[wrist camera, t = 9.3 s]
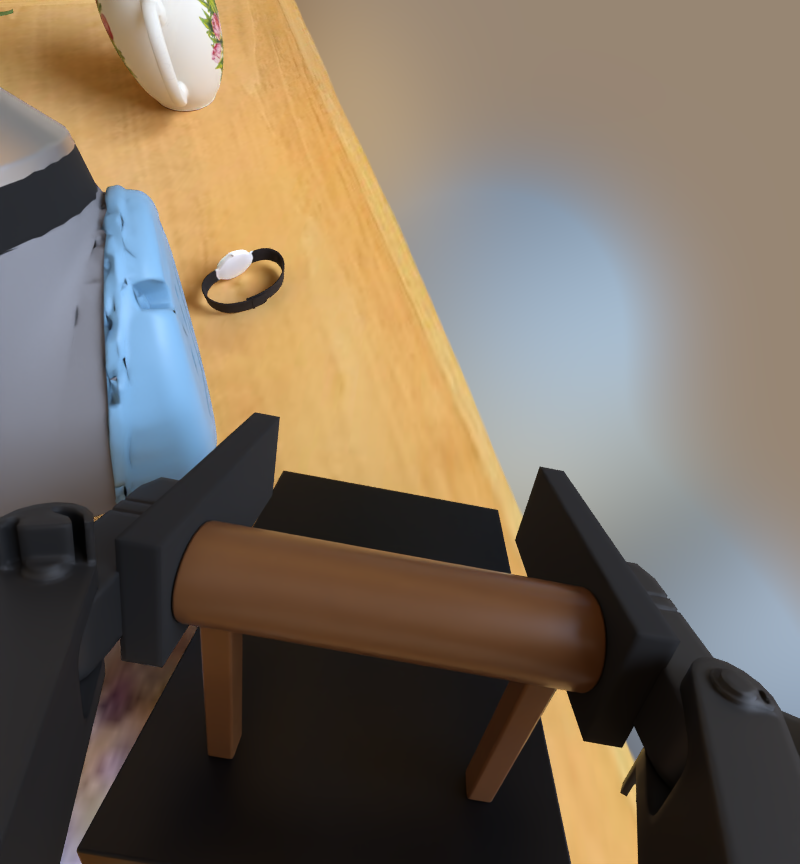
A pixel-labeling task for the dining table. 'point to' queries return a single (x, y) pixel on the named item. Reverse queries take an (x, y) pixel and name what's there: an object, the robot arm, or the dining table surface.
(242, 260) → the watch
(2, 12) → the plant cuttings
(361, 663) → the bacon press
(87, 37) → the dining table surface
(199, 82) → the pitcher
